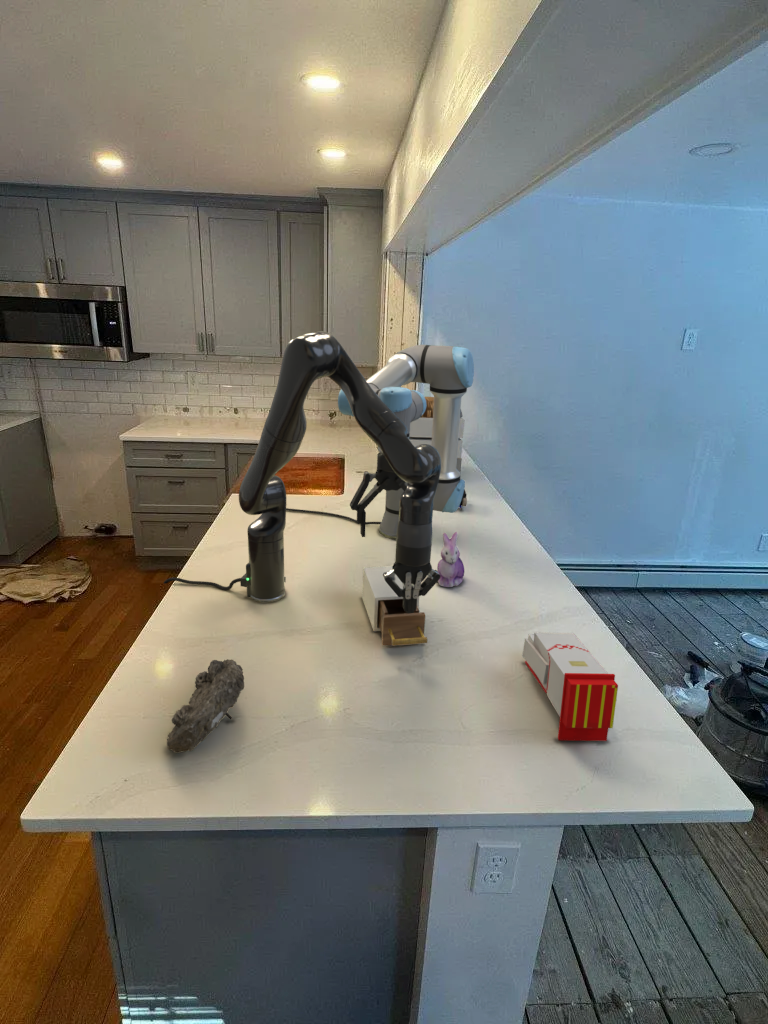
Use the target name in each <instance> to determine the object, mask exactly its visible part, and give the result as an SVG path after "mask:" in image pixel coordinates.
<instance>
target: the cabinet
mask: <svg viewBox="0 0 768 1024" xmlns="http://www.w3.org/2000/svg"><path fill="white" fill-rule="evenodd" d="M392 569H393V565H386V566H385V565H383V566H366V567H364V566H363V567H362V589H361V590H362V594H361V595H362V596H361V599H362V602H363V605H364V608H365V610H366V614H367V617H368V619H369V622H370V625H371V628H372V631H373V632H381V631H380V628H379V625H378V622H377V616H378V600H394V599H403V597H398V596H397V595H396V593H395V592H394V591H393V590H392V589H391V587H390V586H389V585H388V584H387V583H386V581H385V579H384V577H383V573H385V572H387V573H388V572H390V571H391V570H392ZM395 583H396V584H397V585H398V586H399V587H400V589H403V584H402V582H401V581H400V579H399V578H398V577H397V575H396V574H395ZM419 606H420V596H419V597H418V598H417V607H418V609H419V610H420V607H419Z"/></svg>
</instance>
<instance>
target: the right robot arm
mask: <svg viewBox="0 0 768 1024" xmlns="http://www.w3.org/2000/svg"><path fill="white" fill-rule="evenodd" d="M474 376H475V364H474V358H473V354H472V351H471V350H470V349H469V348H467V347H461V346H456V345H435V344H434V345H433V344H416V345H413V346H408V347H405V348H403V349H401V350H400V351H398V352H396V353H395V354H393V355H392V356H390V357H389V359H388V360H387V362H386V364H385V365H384V366H383V367H381V368H380V369H379V370H377V371H376V372H375V373H374V374H372V375H371V376H370V377H368V378H367V379H365V380H366V381H367V383H368V384H369V385H370V387H371V388H372V389H373V391H374V392H375V393H376V394H377V395H378V396H379V398H380V399H381V400H382V401H383V402H384V403H385V404H386V405H387V406H388V407H389V408H390V409H391V410H392V411H393V412H394V413H395V415H396V416H397V417H398V418H399V419H400V420H401V421H402V422H403V423H404V424H405V425H406V427H407V430H408V433H407V437H408V439H409V435H410V422H413V421H415V420H418V419H419V418H420V417H421V416H422V415H423V414H424V412H425V410H426V406H427V405H426V399H425V397H426V396H425V395H423V394H422V392H420V391H418V390H416V389H410V388H407V387H403V386H405V385H406V386H407V385H409V384H410V383H418V384H429V392H430V393H431V394H432V396H433V397H434V407H433V426H432V445H431V446H433V447H434V448H435V449H436V450H437V451H438V453H439V455H440V459H441V472H440V477H439V481H438V485H437V489H436V493H435V496H434V500H433V512H434V511H435V512H441V513H450V514H453V513H456V512H457V511H458V509H459V508H460V507H459V505H460V503H461V500H462V496H463V493H464V489H466V480H465V479H463V478H461V474H460V472H459V471H458V470H457V469H456V464H457V451H458V437H459V423H460V410H461V411H462V407H461V406H462V397H463V396H464V395H466V394H467V393H468V388H471V387H472V386H473V383H474ZM337 407H338V410H339V412H340V413H341V414H342V415H345V416H350V417H353V418H354V415H353V413H352V410H351V407H350V404H349V402H348V399H347V397H346V395H345V393H344V392H343V390H342V389H341V388H340V389H339V392H338V396H337ZM377 451H378V453H377V455H376V456H377V457H376V459H377V460H376V471H375V472H369V471H367V470H365V471H364V472H363V477H362V480H361V483H360V484H359V486H358V488H357V490H356V492H355V493H354V494H353V497H352V499H351V501H350V503H349V507H350V509H351V510H352V511H356V519H355V518H352V517H349V516H346V515H343V514H338V513H332V512H328V511H327V512H325V511H318V510H308V509H298V508H289V507H286V512H297V513H305V514H315V515H324V516H331V517H336V518H341V519H344V520H348V521H351V522H353V523H355V524H358V525H360V532H359V533H360V536H361V538H366V525H367V526H368V525H379V526H378V533H379V534H380V535H381V536H382V537H385V538H387V539H389V540H395V541H396V533H397V526H398V520H399V505H400V498H401V495H402V494H403V492H404V491H405V490H406V487H407V482H405V481H403V480H402V479H401V478H400V477H398V475H397V474H396V473H395V472H394V470H393V469H392V467H391V466H390V464H389V463H388V461H387V459H386V458H385V456H384V454H383V452H382V450H381V449H380V447H379V446H377ZM374 479H375V480H376V481H377V482H376V483H375V484H374V485H373V487H372V489H370V491H369V492H368V493H367V494H366V495H365V496H364V494H365V493H366V490H368V489H367V488H368V487H369V484H370V483H372V481H373V480H374ZM383 490H384V491H385V504H384V505H385V507H384V508H385V509H384V513H383V515H382V519H381V521H367V519H366V518H367V512H366V508H368V506H369V505H370V504H371V503H372V502H373V500H374V499H375V498H376V497H377V496H378V495H379V494H380V493H381V492H383ZM363 496H364V497H363ZM458 507H459V508H458Z"/></svg>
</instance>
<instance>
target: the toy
mask: <svg viewBox="0 0 768 1024" xmlns="http://www.w3.org/2000/svg"><path fill="white" fill-rule="evenodd" d="M522 658H523V659H524V664H525V665H526V666H527V669H529V671H530V672H531V674H532V675H533V677H534V679H535V680H536V681H537V682H538V685H540V687H541V689H542V690H543V692H544V693H545V694H546V696H547V698H548V700H549V701H550V703H551V705H552V706H553V708H554V710H555V711H556V713H557V715H558V716H559V722H558V733H557V740H558V741H572V742H573V741H577V742H578V741H580V742H581V741H582V742H583V741H584V742H585V741H586V742H607V741H608V735H609V734H608V733H609V729H613V727H614V719H615V712H616V705H617V698H618V697H617V696H618V689H619V684H618V683H617V682H616V681H615V678H616V675H615V673H608V672H607V671H606V669H605V668H604V667H603V665H602V664H601V663H600V662H599V661H598V660H597V659H596V657H595V656H594V655H593V653H591V652H590V650H589V649H588V648H587V646H585V645H584V643H583V642H582V641H581V640H580V639H579V638H578V637H577V635H576V634H575V633H574V632H541V631H540V632H537V631H535V632H533V633H528V637H526V638H524V641H523V649H522Z"/></svg>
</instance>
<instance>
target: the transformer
mask: <svg viewBox="0 0 768 1024" xmlns="http://www.w3.org/2000/svg"><path fill="white" fill-rule="evenodd" d="M424 397H425V399H426V405H427V406H426V410H425V412H424V414H423V415H422V416H421V417H420V418H419V419H418V420H415V421H413V422H410V435H409V440H410V442H411V443H412V444H413V445H414V446H415V447H416V446H418V445H421V444H428V445H432V426H433V407H434V396H424ZM464 429H465V419H464V418H463V411H462V409H461V410H460V423H459V437H458V451H457V464H456V469H457V470H458V471H459V472H460V475H461V472H462V461H463V460H462V453H463V442H464V441H463V440H462V439H463V438H464V431H465V430H464Z"/></svg>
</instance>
